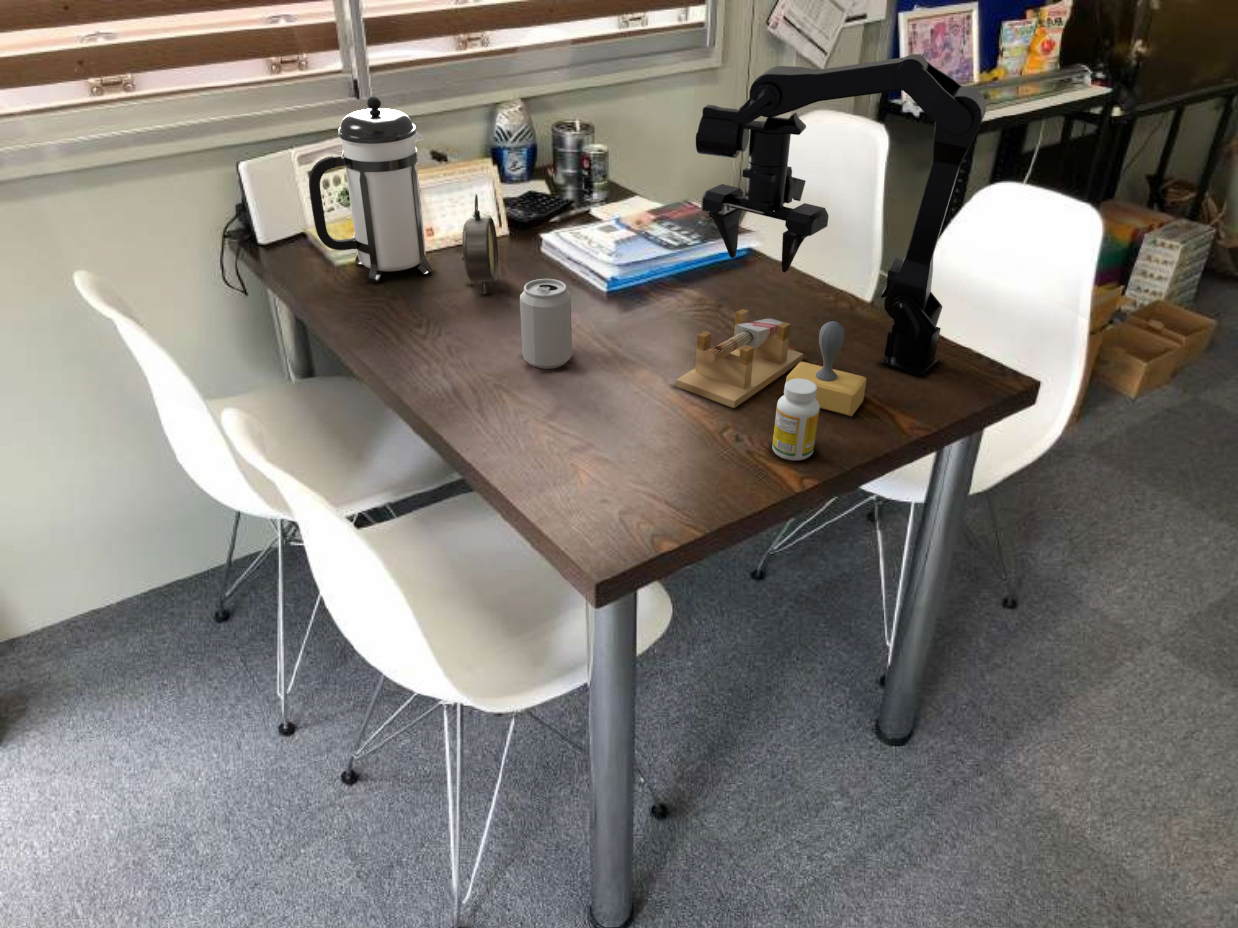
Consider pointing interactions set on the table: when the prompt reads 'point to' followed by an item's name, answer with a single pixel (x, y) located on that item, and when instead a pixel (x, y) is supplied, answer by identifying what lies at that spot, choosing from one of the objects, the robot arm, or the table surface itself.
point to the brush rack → (740, 366)
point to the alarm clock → (480, 249)
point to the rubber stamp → (832, 375)
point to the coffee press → (377, 190)
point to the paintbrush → (744, 338)
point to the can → (546, 323)
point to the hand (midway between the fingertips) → (758, 264)
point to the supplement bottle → (796, 420)
